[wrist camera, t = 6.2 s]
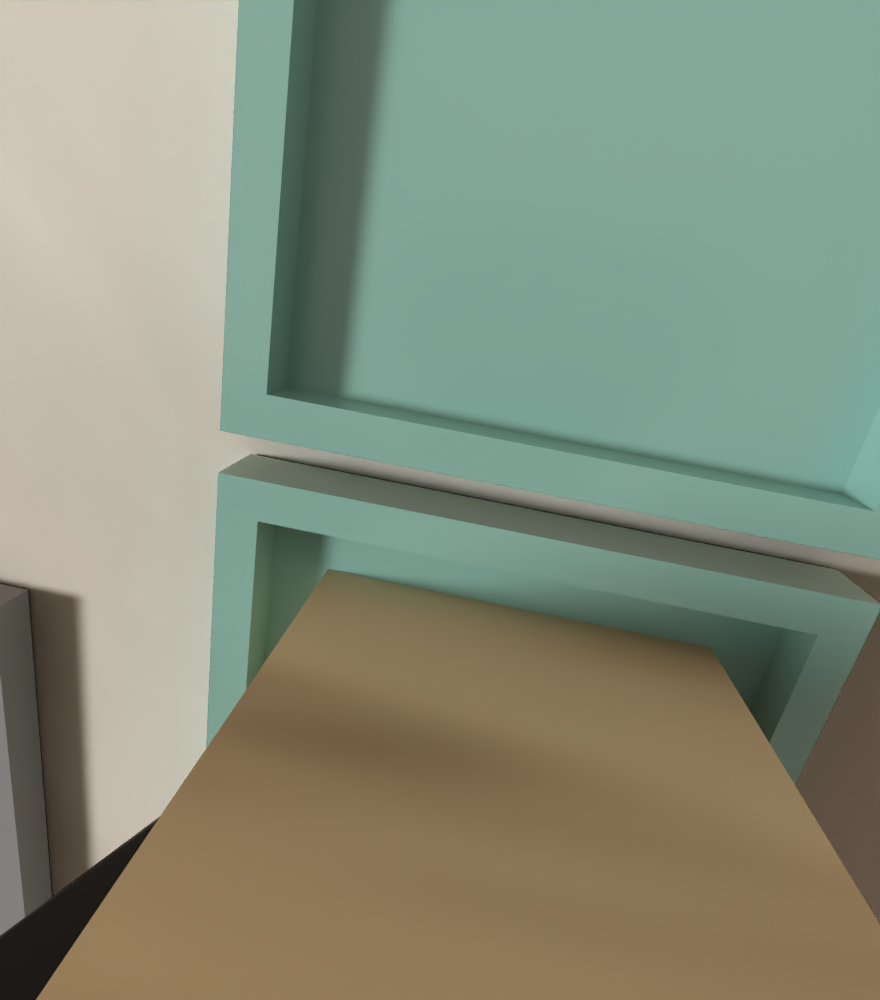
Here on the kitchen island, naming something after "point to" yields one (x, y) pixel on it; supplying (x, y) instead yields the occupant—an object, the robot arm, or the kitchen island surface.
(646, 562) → the dish middle
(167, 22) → the kitchen island surface
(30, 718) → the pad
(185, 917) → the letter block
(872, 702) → the kitchen island surface
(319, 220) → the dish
